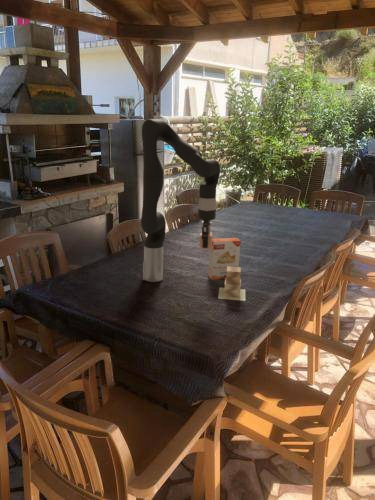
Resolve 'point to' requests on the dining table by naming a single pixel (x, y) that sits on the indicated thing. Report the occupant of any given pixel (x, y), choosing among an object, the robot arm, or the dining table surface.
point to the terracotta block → (208, 241)
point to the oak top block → (233, 275)
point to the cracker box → (223, 257)
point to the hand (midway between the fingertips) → (205, 245)
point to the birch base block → (232, 290)
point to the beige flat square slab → (221, 296)
